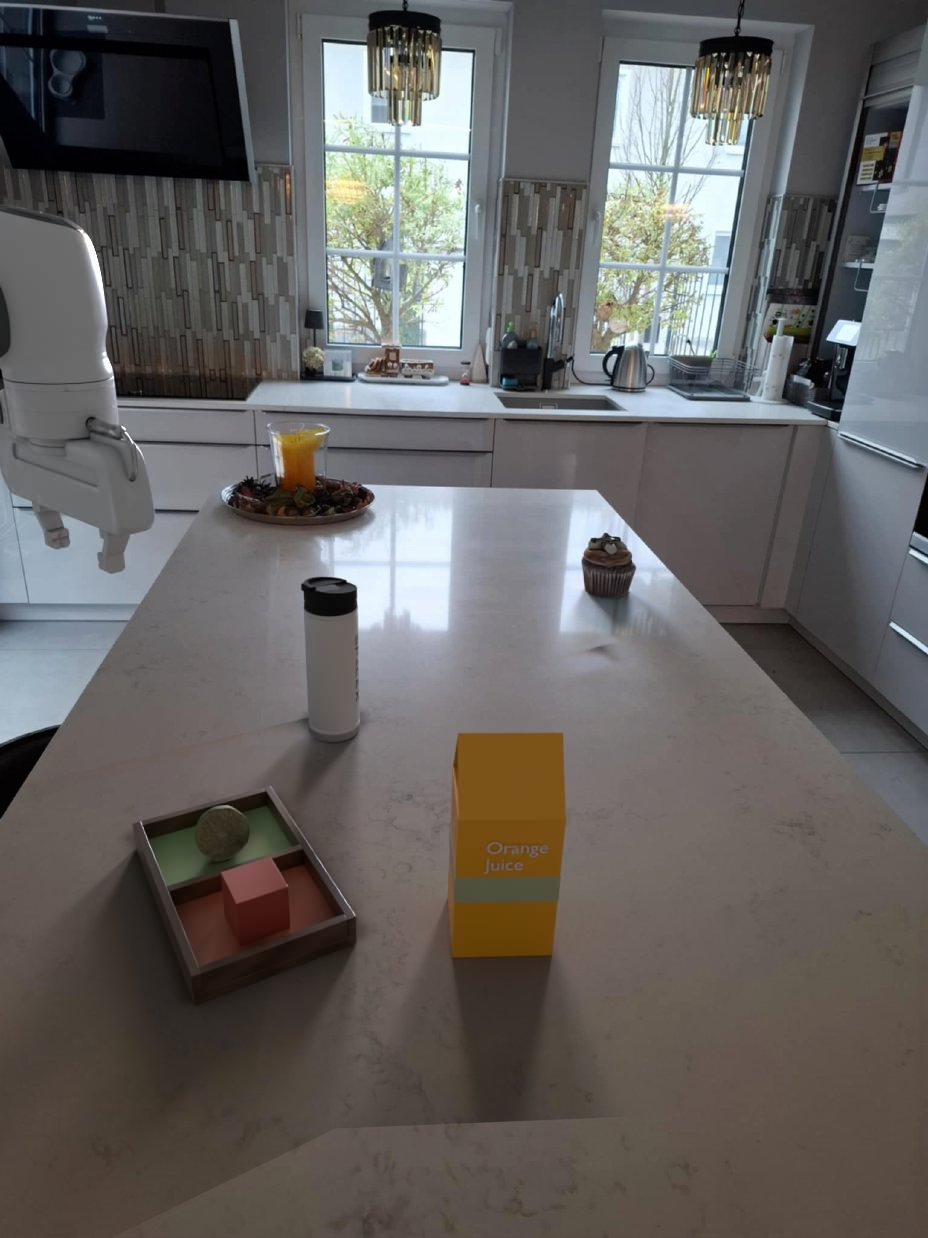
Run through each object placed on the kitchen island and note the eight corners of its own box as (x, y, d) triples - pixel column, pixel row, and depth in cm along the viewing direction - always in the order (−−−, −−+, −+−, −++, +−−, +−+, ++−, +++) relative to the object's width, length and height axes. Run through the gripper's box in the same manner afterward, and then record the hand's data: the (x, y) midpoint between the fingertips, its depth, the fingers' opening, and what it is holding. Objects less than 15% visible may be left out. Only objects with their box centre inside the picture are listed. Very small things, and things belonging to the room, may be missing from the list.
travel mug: (297, 728, 108) (289, 577, 100) (342, 712, 112) (338, 566, 104) (323, 749, 104) (318, 594, 96) (369, 732, 108) (368, 582, 100)
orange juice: (446, 896, 81) (453, 709, 73) (539, 894, 82) (556, 709, 74) (451, 959, 74) (459, 760, 66) (553, 957, 75) (573, 759, 67)
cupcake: (621, 604, 150) (627, 548, 146) (570, 591, 154) (575, 537, 150) (641, 587, 157) (648, 534, 153) (592, 576, 162) (597, 524, 158)
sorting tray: (194, 1005, 69) (191, 977, 68) (135, 848, 86) (132, 823, 85) (356, 943, 76) (356, 916, 74) (272, 808, 93) (270, 785, 92)
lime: (256, 845, 85) (253, 803, 83) (224, 874, 81) (219, 830, 79) (221, 831, 87) (217, 789, 85) (187, 859, 83) (182, 816, 81)
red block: (239, 946, 73) (236, 904, 71) (224, 913, 77) (220, 872, 75) (290, 928, 75) (288, 886, 74) (273, 896, 79) (270, 856, 77)
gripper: (165, 424, 73) (179, 577, 79) (40, 391, 85) (60, 527, 90) (95, 433, 69) (116, 596, 74) (-27, 398, 80) (-1, 541, 85)
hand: (84, 558), depth 82 cm, fingers open, 8 cm apart
